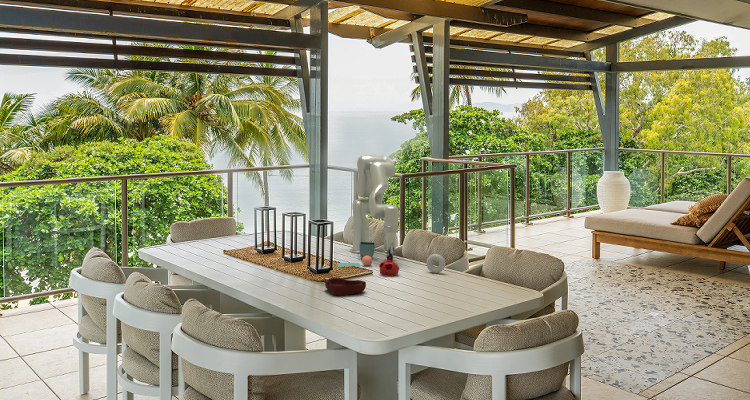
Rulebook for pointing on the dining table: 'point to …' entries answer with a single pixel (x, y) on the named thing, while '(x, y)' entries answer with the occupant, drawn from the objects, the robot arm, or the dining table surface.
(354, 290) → the dark red shallow dish
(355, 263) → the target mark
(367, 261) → the ball
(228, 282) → the dining table surface
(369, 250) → the flower pot
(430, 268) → the donut
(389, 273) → the pomegranate
